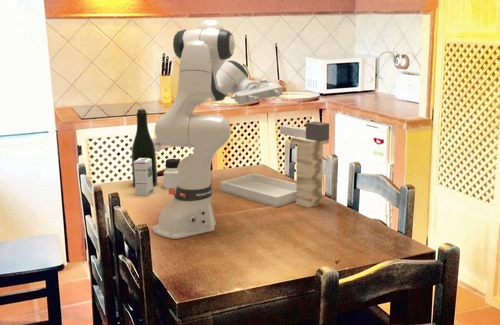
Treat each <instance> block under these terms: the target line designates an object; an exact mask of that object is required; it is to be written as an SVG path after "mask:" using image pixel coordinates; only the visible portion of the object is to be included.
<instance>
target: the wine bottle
mask: <svg viewBox="0 0 500 325" xmlns="http://www.w3.org/2000/svg"><path fill="white" fill-rule="evenodd" d="M148 125H149V124H148V113H147V112H146V109H143V108H140V109H137V112H136V132H135V136H134V139H133V143H132V146H131V168H132V169H131V170H132V185H133V187H135V173H134V161H136V160H137V159H139V158H151V159H152V173H153V187H154V186H156V185H157V184H158V169H157V167H158V166H157V156H156V148H155V143H154V141H153V139H152V137H151V135H150V131H149V127H148Z"/></svg>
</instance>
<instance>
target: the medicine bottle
mask: <svg viewBox="0 0 500 325" xmlns="http://www.w3.org/2000/svg"><path fill="white" fill-rule="evenodd" d="M180 161H181V160H180V159H179V158H175V157H174V158H167V159H166V160H165V170H164V171H163V188H164V189H168V190H169V189H174V190H176V189H177V186H178V164H179V162H180Z"/></svg>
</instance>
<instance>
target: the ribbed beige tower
mask: <svg viewBox="0 0 500 325" xmlns="http://www.w3.org/2000/svg"><path fill="white" fill-rule="evenodd" d="M290 139H291V140H290V143H291V144H293V145H296V201H295V205H298V204H299V205H298V206H302V207H305V206H307V207H306V208H309V207H311V208H313V207H312V206H314V207H316V206H315V205H317V204H320V203H322V204H323V172H324V171H323V170H324V169H323V166H324V164H323V163H324V160H323V159H324V145H325V144H330V143H329V142H330V139H329V140H325V141H315V140H309V139H306V138H301V137H296V136H293V137H291V138H290ZM320 205H321V204H320ZM317 206H318V205H317Z"/></svg>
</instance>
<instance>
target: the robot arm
mask: <svg viewBox="0 0 500 325" xmlns="http://www.w3.org/2000/svg"><path fill="white" fill-rule="evenodd" d="M172 41H173V42H172V46H173V47H172V48H173V52H174V54H175V56H176V57H177V58H178V59H180V60H179V61H180V62H179V68H178V69H179V70H178V82H177V91H176V96H175V99H174V101H173V103H172V105H171V106H170V107H169V109H168V110H167V111H166V112H165V113H164V114H162V115H161V116H159V117H158V119H157V120H156V123H155V125H154V134H155V136H156V139H157V141H158V142H159V143H160V144H163V145H168V146H172V147H191V148H193V153H192V154H190V155H188V156H185V157H184V158H182V159H181V160H180V162H179V164H178V186H177V188H176V189H168V195H172V196H173V197H174V198H173V199H172V200H171V201H170V202H169V203H168V204H167V205H166V206H165V207H164V208H163V209H162V210H161V212H160V213H159V218H158V224H156V225H153V226H152V229H151V230H152V232H153V233H154V234H156V235H158V236H161V237H164V238H167V239H173V240H174V239H176V240H177V239H182V238H186V237H191V236H196V235H200V234H204V233H209V232H213V231H215V228H216V226H217V225H216V224H217V222H216V220H215V215H214V212H213V207H212V206H213V204H212V195H213V189H212V184H211V167H212V161H213V158H214V157H215V155H216V153H217V152H218V151H219V149H221V148H222V147H223V146H225V144H226V143H227V142H228V141H229V139H230V136H231V125H230V122H229V121H228V120H227V118H226V117H224V116H221V115H216V114H207V113H206V114H205V113H204V114H200V113H199V114H197V113H194V111H195V109H196V108H197V106H199V105H202V104H204V103H206V102H207V101H208V100H209V99H210V100H212V101H213V102H221V101H224V100H225V98H226V97H227V96H228V95H229V93H230V94H231V95H230V98H231V99H233V100H234V102H235V103H237V104H238V105H245V104H248V103H251V104H253V103H258V102H260V101H261V100H265V99H270V98H274V97H275V98H278V97H280V96H282V95H283V93H284V92H283V91H284V90H283V86H282V85H280V84H278V83H276V82H271V81H270V80H268V79H267V80H251V79H249V76H248V71H247V70H246V69H245V67H244V66H243V65H242V64H240V63H239V62H237V61H235V60H230V59H231V57H233V55H234V51H235V47H236V44H235V39H234V35H233V33H232V32H231V31H230V30H227V29H224V27H223V26H222V24H221V23H220V22H219V21H218V20H215V19H211V18H210V19H206V20H203V21H202V22H201V23H199V25H198V27H197V28H194V29H182V30H179V31H177V32H176V33H175V34H174V37H173V40H172ZM228 59H229V60H228Z"/></svg>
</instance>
